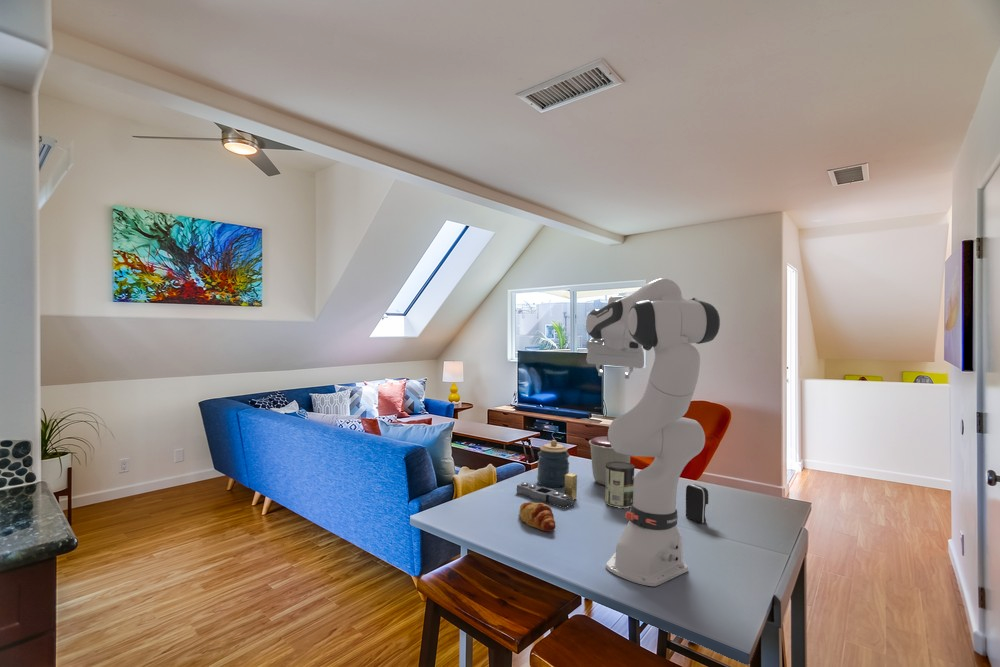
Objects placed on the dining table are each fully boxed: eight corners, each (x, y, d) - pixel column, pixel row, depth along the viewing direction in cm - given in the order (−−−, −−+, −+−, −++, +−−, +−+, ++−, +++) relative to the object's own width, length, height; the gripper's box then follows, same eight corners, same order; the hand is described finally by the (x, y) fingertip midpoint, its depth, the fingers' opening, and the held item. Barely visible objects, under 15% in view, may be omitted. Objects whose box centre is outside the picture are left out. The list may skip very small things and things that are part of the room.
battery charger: (709, 523, 157) (710, 488, 157) (701, 524, 155) (702, 489, 155) (692, 515, 163) (693, 482, 163) (684, 517, 161) (685, 483, 162)
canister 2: (635, 480, 202) (636, 430, 203) (628, 492, 186) (630, 438, 186) (593, 473, 210) (594, 426, 210) (583, 485, 193) (584, 433, 193)
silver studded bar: (562, 509, 166) (563, 498, 166) (515, 493, 181) (515, 484, 181) (574, 504, 171) (574, 494, 171) (526, 489, 186) (526, 480, 186)
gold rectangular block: (571, 501, 174) (572, 476, 174) (564, 499, 176) (564, 474, 176) (576, 499, 177) (577, 474, 177) (569, 497, 179) (569, 473, 179)
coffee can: (629, 499, 178) (630, 461, 178) (637, 509, 168) (638, 469, 168) (602, 498, 178) (602, 460, 178) (607, 508, 168) (608, 468, 168)
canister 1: (534, 478, 201) (535, 436, 201) (564, 478, 203) (565, 436, 203) (540, 488, 188) (541, 443, 188) (572, 487, 190) (573, 443, 190)
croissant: (514, 522, 162) (505, 502, 161) (537, 505, 166) (528, 485, 165) (546, 546, 143) (535, 524, 142) (571, 526, 147) (561, 505, 145)
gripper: (586, 340, 168) (583, 377, 172) (646, 345, 164) (642, 382, 167) (587, 335, 174) (585, 371, 178) (645, 340, 170) (642, 376, 173)
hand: (613, 376), depth 173 cm, fingers open, 8 cm apart
